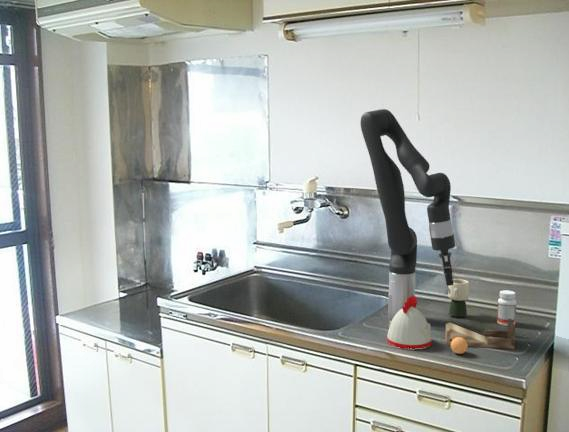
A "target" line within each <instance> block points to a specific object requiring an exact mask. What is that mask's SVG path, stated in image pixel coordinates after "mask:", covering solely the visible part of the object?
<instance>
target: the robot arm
mask: <svg viewBox="0 0 569 432" xmlns="http://www.w3.org/2000/svg"><path fill="white" fill-rule="evenodd" d="M360 129H361V133H362V137H363V139H364V142H365V146H366V149H367V152H368V155H369V159H370V163H371V166H372V170H373V171H372V172H373V175H374V181H375V186H376V190H377V194H378V198H379V202H380V205H381V208H382V209H381V210H382V212H383V215H384V221H385V227H386V234H387V236H386V237H387V244H388V247H389V249H390V259H389V263H388V264H389V267H388V273H389V274H388V301H387V303H388V309H387V311H388V314H387V315H388V316H387V317H388V318H387V319H388V321H390V320H391V321H392V320H393V318H394V316H395V315H396V314H397V312H398V311H400V310H401V309H402V307H405V302H407V297H408V298H410V297H412V296H415V297H416V267H417V256H418V237H417V234H416V232H415V230H414V229H412V228H411V227H410V226H409V223H408V220H407V215H406V201H405V200H406V198H405V195H406V194H405V186H404V182H403V181H404V180H403V176H402V172H401V170H400V168H399V167H398V165H397V164H396V163H395V161H394V160H393V159H392V158H391V156H389V154H388V153H387V151H386V150H385V148H384V144H383V141H382V137H384V136H387V137H388V138H389V139H390V140H391V141H392V143H393V144H394V146H395V149H396V155H397V159H398V161H399V163H400V164H401V166H402V167H403V168H404V169H405V170H406V172H407V173H408V174H410V176H411V178H412V180H413V182H414V185H415V187H416V190H417V191H418V192H419V194H420V195H422V197H423V196H424V197H425V198H433V201H432V202H431V203H430V204H428V205H427V207H426V212H427V217H428V218H427V219H428V226H429V227H428V231H429V236H430V243H431V248H432V250H433V251H439V252H440V253H438V257H439V261H440V263H441V269H443V274H444V278H445V284H446V286H447V287H449V286H450V285H453V279H454V278H453V270H452V269H453V262H452V261H453V256H452V252H451V251H449V250H452V249H454V248H455V247H456V240H455V233H454V226H453V224H452V220H451V219H452V218H451V213H450V199H451V190H452V189H451V187H452V185H451V181H450V179H449V177H448V175H446V173H443V172H437V173H433V174H432V173H431V174H428V173H429V170H430V163H429V162H428V160H427V159H426V158H425V157H424V156H423V155H422V154H421V153H420V152H419V150H418V149H417V148H416V147H415V146H414V144H412V142H411V140H410V139H409V137H408V135H407V134H406V133H405V131H404V129H403V128H402V126H401V125H400V123H399V122H398V119H397V118H396V117H395V115H394V114H393V113H392V112H391V111H390V109H389V110H388V109H387V108H386V109H385V108H381V109H376V110H371V111H366V112H364V113H363V114H362V115H361V116H360Z"/></svg>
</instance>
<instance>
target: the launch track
mask: <svg viewBox="0 0 569 432" xmlns="http://www.w3.org/2000/svg"><path fill="white" fill-rule="evenodd" d="M456 337H461V338H463V339H465V340H466V342H467V344H468V347H469V348H470V347H471V348H473V347H476V348H490V349H508V350H509V349H510V350H515V340H516V326H515V325H514V324H513V322H512V320H511V319H508V326H507V329H506V330H503V329H501V330H500V329H484V335H482V334H480V333H477V332H475V331H473V330H470V329H467V328H465V327H462V326H459V325H457V324H454V323H452V322H448V323H445V342H446V345H447V346H451V342H452V340H453V339H454V338H456Z"/></svg>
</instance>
